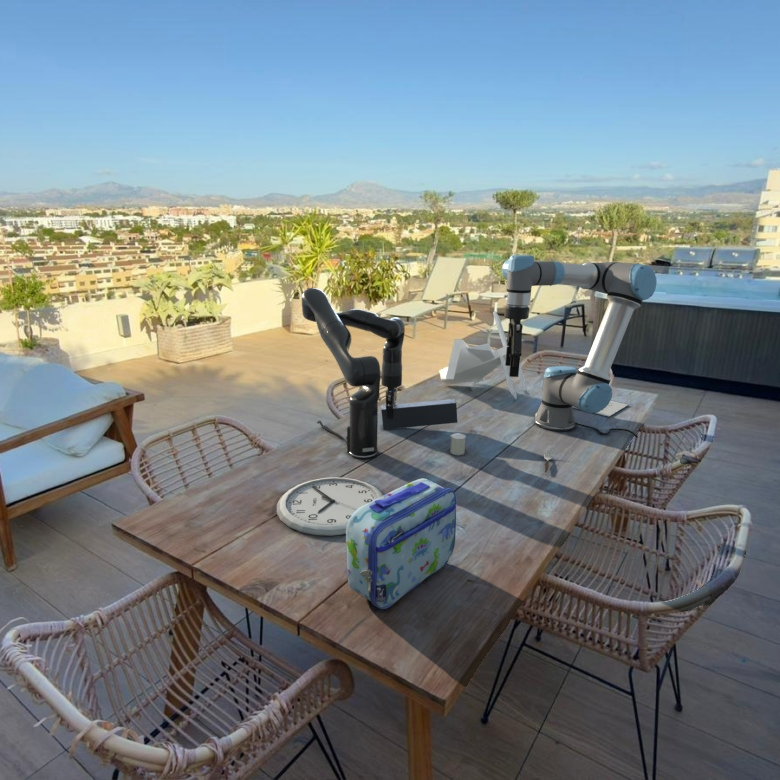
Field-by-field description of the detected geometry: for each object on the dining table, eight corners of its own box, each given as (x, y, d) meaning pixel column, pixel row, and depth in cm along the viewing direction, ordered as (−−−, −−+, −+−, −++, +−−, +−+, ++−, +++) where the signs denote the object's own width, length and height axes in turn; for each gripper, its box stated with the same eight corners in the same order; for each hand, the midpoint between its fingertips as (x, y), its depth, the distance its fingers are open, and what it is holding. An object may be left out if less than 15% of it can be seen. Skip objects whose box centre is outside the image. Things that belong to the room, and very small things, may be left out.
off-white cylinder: (464, 449, 180) (465, 433, 178) (464, 455, 175) (465, 439, 174) (450, 448, 181) (450, 432, 179) (449, 454, 176) (450, 438, 174)
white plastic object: (461, 429, 252) (437, 405, 227) (444, 352, 274) (420, 323, 250) (535, 404, 240) (518, 377, 215) (510, 326, 262) (492, 293, 237)
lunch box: (375, 622, 100) (376, 527, 94) (339, 595, 108) (338, 505, 101) (459, 565, 118) (465, 481, 112) (424, 545, 125) (427, 465, 119)
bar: (455, 418, 200) (454, 398, 198) (457, 422, 196) (456, 402, 194) (383, 425, 201) (381, 405, 198) (383, 429, 196) (381, 409, 194)
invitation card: (608, 416, 214) (573, 407, 224) (608, 416, 214) (573, 408, 224) (628, 404, 229) (594, 396, 238) (628, 405, 229) (594, 397, 238)
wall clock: (392, 527, 129) (268, 531, 127) (391, 533, 130) (269, 537, 127) (383, 473, 158) (282, 475, 155) (383, 478, 158) (282, 480, 156)
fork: (540, 473, 163) (541, 467, 163) (544, 453, 178) (545, 448, 177) (549, 474, 162) (550, 468, 162) (552, 454, 177) (553, 449, 176)
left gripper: (384, 367, 199) (383, 409, 204) (379, 377, 186) (378, 422, 191) (403, 368, 199) (402, 410, 204) (400, 378, 185) (398, 423, 190)
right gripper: (501, 300, 176) (496, 361, 183) (509, 311, 153) (503, 380, 159) (524, 300, 176) (518, 362, 182) (535, 312, 152) (528, 382, 158)
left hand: (390, 415), depth 197 cm, fingers closed on bar, 4 cm apart
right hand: (511, 370), depth 171 cm, fingers open, 13 cm apart
